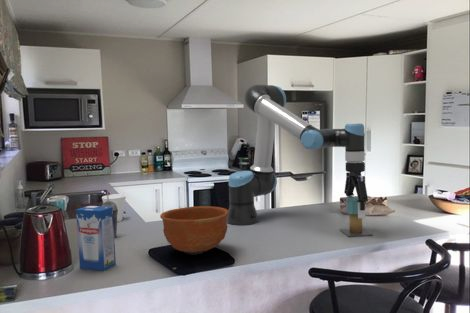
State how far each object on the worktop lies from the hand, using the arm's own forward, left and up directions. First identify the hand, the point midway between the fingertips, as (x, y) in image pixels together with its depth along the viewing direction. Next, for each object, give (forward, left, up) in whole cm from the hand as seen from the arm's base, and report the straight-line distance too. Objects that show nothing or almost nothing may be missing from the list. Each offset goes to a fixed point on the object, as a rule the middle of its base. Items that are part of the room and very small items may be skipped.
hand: (355, 214), depth 164 cm
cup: (-107, +46, -8) cm, 117 cm away
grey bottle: (-102, +14, -8) cm, 103 cm away
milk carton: (-98, -22, -8) cm, 101 cm away
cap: (0, 0, +1) cm, 1 cm away
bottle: (0, 0, -8) cm, 8 cm away
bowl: (-65, -13, -8) cm, 67 cm away
